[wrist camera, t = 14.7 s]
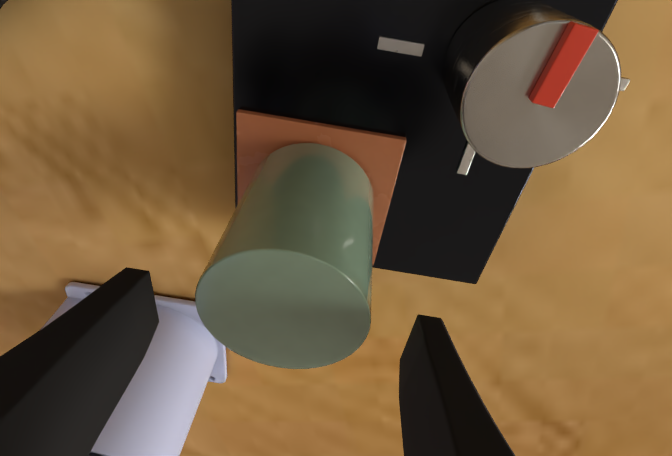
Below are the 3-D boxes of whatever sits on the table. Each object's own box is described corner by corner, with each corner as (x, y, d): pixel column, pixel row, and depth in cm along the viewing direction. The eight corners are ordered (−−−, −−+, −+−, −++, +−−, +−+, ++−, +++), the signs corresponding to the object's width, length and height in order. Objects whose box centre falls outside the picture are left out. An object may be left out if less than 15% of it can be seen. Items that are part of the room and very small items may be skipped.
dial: (527, 131, 14) (569, 189, 11) (425, 104, 13) (439, 156, 10) (592, 15, 11) (668, 47, 8) (472, -19, 11) (506, 1, 8)
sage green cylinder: (251, 235, 17) (200, 355, 12) (252, 130, 14) (186, 234, 9) (362, 253, 17) (354, 380, 12) (385, 152, 14) (388, 267, 9)
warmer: (250, 213, 20) (234, 247, 18) (252, -143, 12) (225, -158, 10) (494, 254, 20) (507, 292, 18) (658, -72, 12) (718, -72, 10)
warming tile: (239, 239, 18) (237, 243, 17) (238, 108, 14) (235, 111, 14) (373, 261, 18) (373, 265, 18) (406, 136, 14) (406, 140, 14)
